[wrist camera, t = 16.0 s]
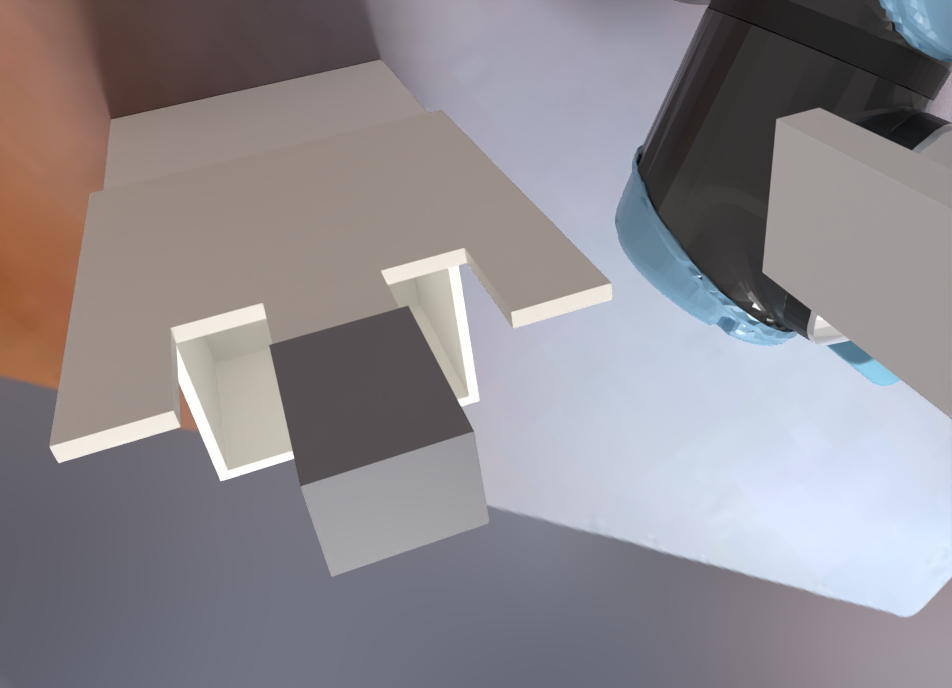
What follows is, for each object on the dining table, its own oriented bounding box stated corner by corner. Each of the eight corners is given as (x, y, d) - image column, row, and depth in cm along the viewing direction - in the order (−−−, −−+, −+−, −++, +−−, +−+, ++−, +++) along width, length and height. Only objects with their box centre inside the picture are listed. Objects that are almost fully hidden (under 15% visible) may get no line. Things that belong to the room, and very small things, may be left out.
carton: (110, 119, 47) (102, 201, 38) (381, 59, 50) (435, 121, 41) (208, 368, 58) (220, 481, 48) (427, 306, 61) (479, 400, 51)
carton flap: (105, 229, 38) (79, 168, 37) (447, 144, 41) (437, 85, 40) (56, 670, 19) (-5, 583, 17) (715, 445, 22) (720, 353, 20)
